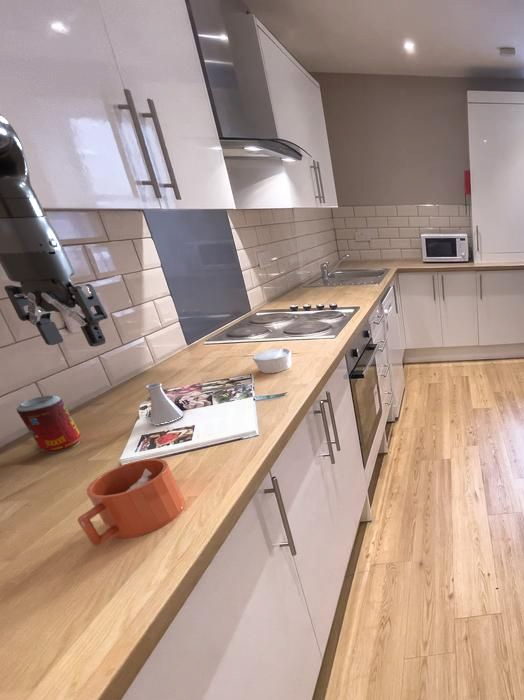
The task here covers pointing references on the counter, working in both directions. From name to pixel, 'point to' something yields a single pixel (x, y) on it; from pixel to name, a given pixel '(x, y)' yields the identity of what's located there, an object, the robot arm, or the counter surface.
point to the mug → (132, 501)
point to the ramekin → (273, 360)
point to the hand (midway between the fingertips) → (77, 344)
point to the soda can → (49, 423)
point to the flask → (161, 405)
